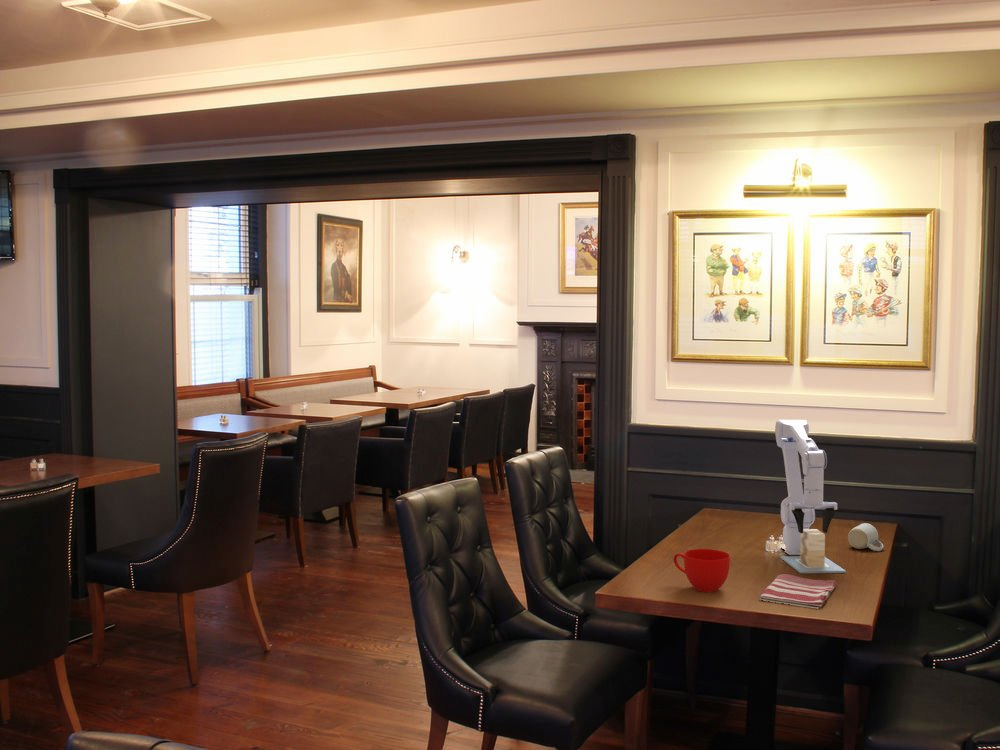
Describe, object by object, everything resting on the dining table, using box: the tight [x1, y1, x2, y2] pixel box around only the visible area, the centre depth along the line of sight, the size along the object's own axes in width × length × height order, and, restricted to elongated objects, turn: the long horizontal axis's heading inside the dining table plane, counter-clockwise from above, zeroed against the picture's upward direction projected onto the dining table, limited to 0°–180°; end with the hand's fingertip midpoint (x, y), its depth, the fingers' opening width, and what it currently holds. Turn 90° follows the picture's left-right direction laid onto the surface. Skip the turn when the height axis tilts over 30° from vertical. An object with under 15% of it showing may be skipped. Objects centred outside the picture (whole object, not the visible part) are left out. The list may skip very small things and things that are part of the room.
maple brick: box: [799, 546, 826, 566], centre depth 296 cm, size 7×5×5 cm
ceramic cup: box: [673, 548, 731, 593], centre depth 272 cm, size 13×17×10 cm
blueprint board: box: [779, 555, 847, 574], centre depth 296 cm, size 18×14×1 cm
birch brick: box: [801, 528, 826, 551], centre depth 296 cm, size 7×5×5 cm
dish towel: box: [758, 573, 836, 610], centre depth 267 cm, size 17×23×3 cm
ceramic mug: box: [847, 522, 884, 552], centre depth 317 cm, size 11×8×8 cm
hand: (812, 532), depth 295 cm, fingers open, 7 cm apart
